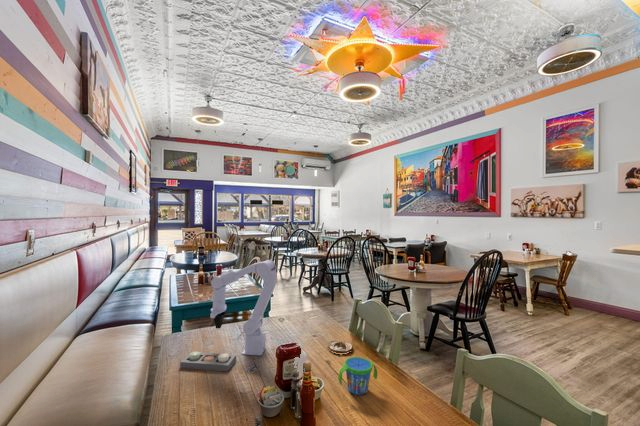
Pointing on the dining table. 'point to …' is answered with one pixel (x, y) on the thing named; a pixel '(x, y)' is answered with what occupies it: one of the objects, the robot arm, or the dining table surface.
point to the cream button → (223, 358)
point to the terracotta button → (209, 358)
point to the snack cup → (357, 374)
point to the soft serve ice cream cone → (300, 361)
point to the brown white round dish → (340, 346)
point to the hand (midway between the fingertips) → (218, 327)
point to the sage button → (194, 356)
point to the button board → (208, 363)
